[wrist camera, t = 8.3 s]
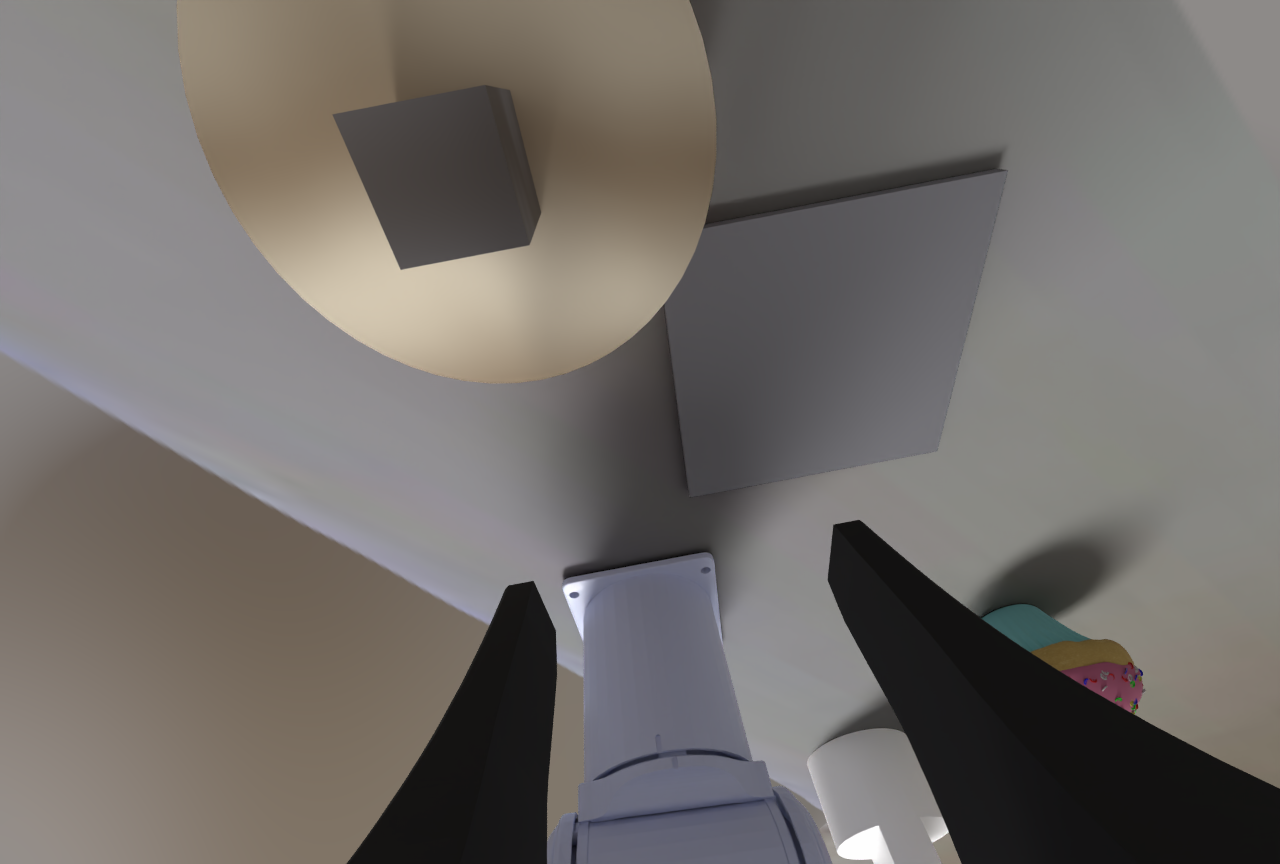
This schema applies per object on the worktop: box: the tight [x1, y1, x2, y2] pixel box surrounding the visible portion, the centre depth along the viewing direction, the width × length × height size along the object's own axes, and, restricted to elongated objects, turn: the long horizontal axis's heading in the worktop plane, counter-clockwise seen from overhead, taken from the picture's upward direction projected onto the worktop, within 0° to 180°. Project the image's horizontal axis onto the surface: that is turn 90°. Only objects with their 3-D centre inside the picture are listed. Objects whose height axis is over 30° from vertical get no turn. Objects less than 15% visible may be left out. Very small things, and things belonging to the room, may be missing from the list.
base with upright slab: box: [807, 728, 949, 864], centre depth 37 cm, size 9×9×12 cm
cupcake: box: [981, 604, 1146, 714], centre depth 27 cm, size 9×8×12 cm
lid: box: [177, 0, 716, 383], centre depth 10 cm, size 11×11×4 cm
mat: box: [664, 169, 1008, 498], centre depth 19 cm, size 12×12×1 cm
